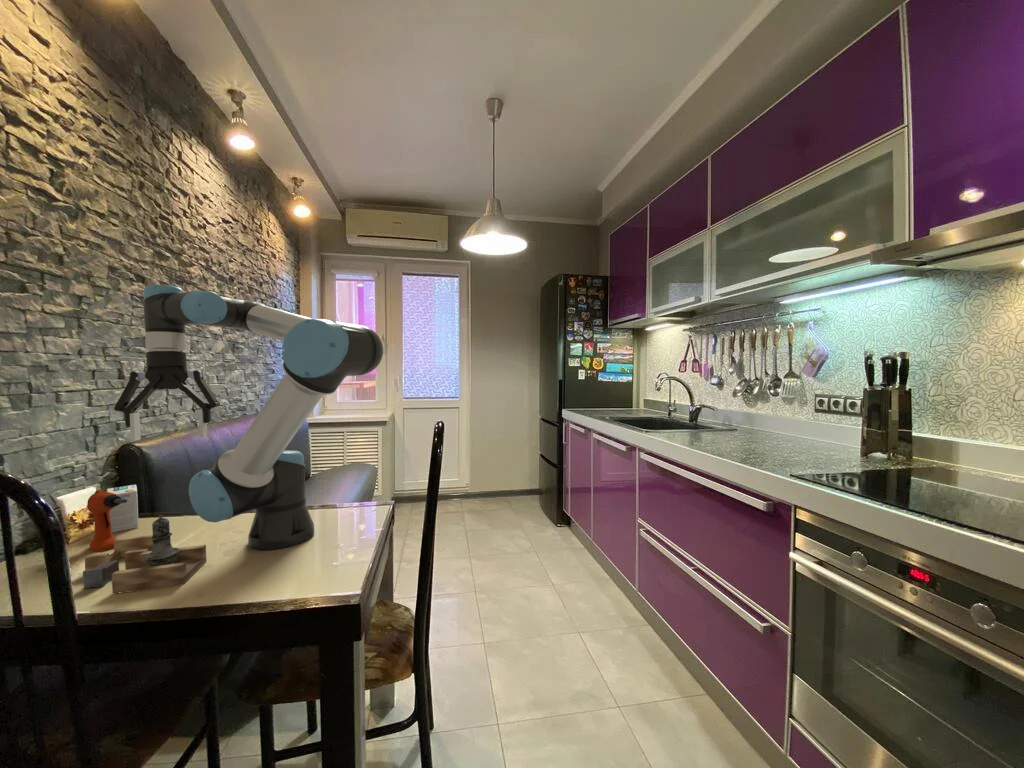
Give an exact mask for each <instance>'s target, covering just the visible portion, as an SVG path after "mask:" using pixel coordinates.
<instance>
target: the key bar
mask: <svg viewBox="0 0 1024 768" xmlns="http://www.w3.org/2000/svg"><path fill="white" fill-rule="evenodd" d="M119 561H120V560H119V559H116V560H114V561H106V562H103V563H102V564H100V565H99V566H97V567H95V568H93V569H86V570H85V569H84V570H83V571H82V580H83V581H82V582H83V584H82V585H83V589H84V588H87V589H91V588H90V587H95V588H102V587H101V586H103V587H104V586H106V585H107V583H108V582H109V581H112V574H113V573H114V572H116V571H120V563H119ZM105 584H106V585H105Z"/></svg>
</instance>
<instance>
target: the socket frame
mask: <svg viewBox="0 0 1024 768" xmlns="http://www.w3.org/2000/svg"><path fill="white" fill-rule="evenodd" d="M152 536H153V534H150V535H142V536H140V535H139V536H132V537H121V538H116V540H114V548H113V550H114V551H113V552H112V553H111V554H110V553H109V552H107V553H100V554H99V553H98V554H90V555H87V556H85V557H84V570H86V569H93V568H95V567H97V566H99V565H100V564H102V563H103V562H106V561H114V560H118V559H119V558H121V557H124V564H125V570H128V569H136V568H138V567H139V566H140V554H141V553H143V552H147V551H152V549H153V540H152V539H151V537H152ZM120 556H121V557H120Z"/></svg>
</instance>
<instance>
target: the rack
mask: <svg viewBox="0 0 1024 768" xmlns="http://www.w3.org/2000/svg"><path fill="white" fill-rule="evenodd" d="M178 548H179V549H180V551H179V552H178V556H177V559H176V560H175V561H174V562H173V563H175V564H169V565H161V566H153V567H151V566H149V565H148V564H147V562H146V560H145V559H144V557H145V556H146V555H147V554H149V553H151V552H152V551H147V552H143V553H141V554H140V566H139V567H138V568H136V569H128V570H126V569H122V570H121V569H119V571H116V572H114V573H113V574H112V579H111V585H112V589H111V590H112V591H111V592H112V594H113V593H118V594H120V593H119V592H126V593H128V592H127V591H133V592H138V591H137V590H141V591H146V590H155V589H161V588H171V587H177V586H182V585H185V584H186V583H187V582H188V581H189V579H191V578H193V577H194V575H195V574H196V573H197V572H198V571H199V570H200V569H201V568H203V566H204V565H205V564H206V563H207V561H208V560H207V545H206V544H202V545H201V544H200V545H192V546H182V547H178Z"/></svg>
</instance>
